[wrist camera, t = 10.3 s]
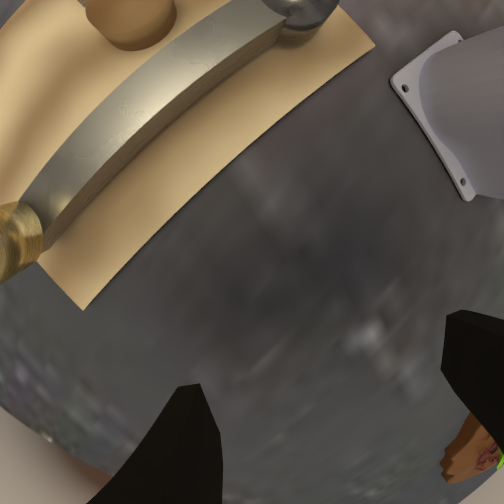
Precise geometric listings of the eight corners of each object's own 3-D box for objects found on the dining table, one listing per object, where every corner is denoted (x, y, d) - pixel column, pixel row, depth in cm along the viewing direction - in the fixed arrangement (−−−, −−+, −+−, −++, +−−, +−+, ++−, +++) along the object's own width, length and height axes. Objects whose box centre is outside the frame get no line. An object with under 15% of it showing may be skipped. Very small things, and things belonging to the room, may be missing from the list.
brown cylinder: (192, 16, 13) (186, -10, 10) (133, 65, 14) (115, 46, 11) (147, -20, 12) (136, -47, 9) (92, 26, 13) (71, 5, 10)
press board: (368, 50, 15) (375, 45, 14) (88, 303, 18) (82, 310, 17) (177, -100, 11) (175, -107, 10) (-51, 120, 13) (-60, 119, 12)
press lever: (288, -22, 12) (322, -103, 5) (334, 24, 13) (396, -43, 6) (16, 217, 14) (-71, 250, 7) (54, 265, 15) (-23, 321, 8)
